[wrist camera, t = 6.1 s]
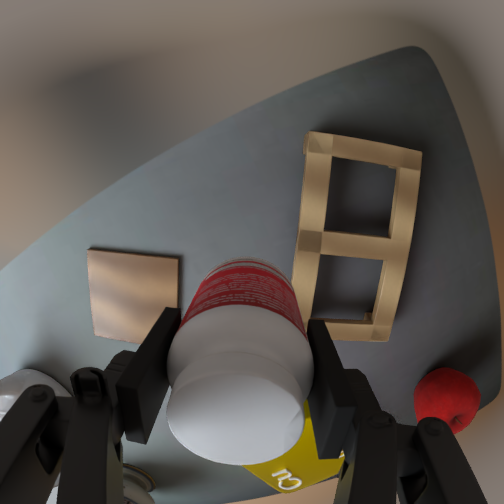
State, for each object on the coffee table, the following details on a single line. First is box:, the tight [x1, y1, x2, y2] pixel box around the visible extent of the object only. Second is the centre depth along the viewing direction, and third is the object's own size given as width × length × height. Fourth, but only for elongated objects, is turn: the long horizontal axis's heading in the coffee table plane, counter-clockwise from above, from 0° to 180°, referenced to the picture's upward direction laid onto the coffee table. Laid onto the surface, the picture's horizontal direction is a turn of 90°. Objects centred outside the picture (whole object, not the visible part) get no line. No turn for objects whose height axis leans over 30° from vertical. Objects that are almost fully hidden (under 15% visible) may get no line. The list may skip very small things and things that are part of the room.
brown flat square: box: [87, 249, 179, 344], centre depth 38 cm, size 12×12×1 cm
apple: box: [414, 367, 481, 434], centre depth 35 cm, size 10×10×11 cm
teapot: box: [0, 369, 72, 488], centre depth 37 cm, size 19×18×14 cm
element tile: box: [242, 399, 345, 493], centre depth 41 cm, size 15×15×5 cm
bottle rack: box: [291, 131, 422, 341], centre depth 34 cm, size 22×13×4 cm, turn 175°
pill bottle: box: [167, 257, 314, 465], centre depth 15 cm, size 6×6×11 cm
